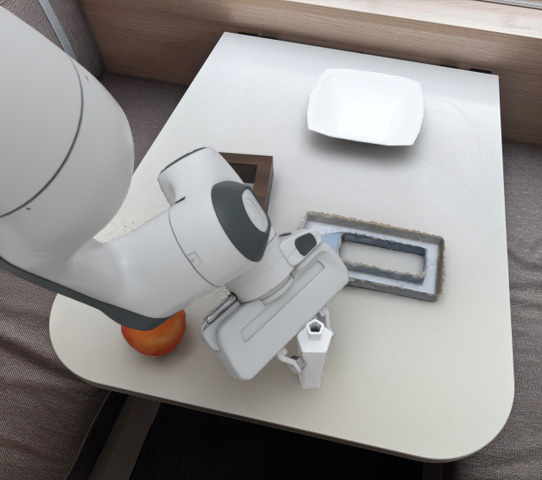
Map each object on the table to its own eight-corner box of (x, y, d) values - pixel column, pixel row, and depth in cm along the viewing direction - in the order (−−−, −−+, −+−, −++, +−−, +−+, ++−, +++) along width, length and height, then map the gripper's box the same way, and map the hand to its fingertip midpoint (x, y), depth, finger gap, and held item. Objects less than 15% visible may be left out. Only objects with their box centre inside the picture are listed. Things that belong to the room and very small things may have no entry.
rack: (257, 272, 85) (256, 254, 81) (181, 266, 85) (176, 248, 81) (273, 175, 99) (272, 155, 95) (208, 170, 99) (204, 150, 95)
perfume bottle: (300, 357, 76) (302, 305, 65) (329, 367, 76) (336, 316, 64) (290, 386, 74) (290, 337, 62) (319, 396, 73) (325, 348, 61)
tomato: (175, 371, 74) (164, 346, 68) (116, 354, 76) (100, 328, 69) (201, 317, 80) (193, 289, 74) (146, 301, 81) (134, 273, 75)
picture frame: (304, 219, 93) (305, 208, 91) (444, 242, 91) (448, 232, 89) (288, 280, 85) (288, 270, 82) (441, 307, 83) (445, 297, 80)
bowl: (415, 171, 101) (420, 150, 97) (298, 153, 103) (298, 131, 99) (421, 101, 115) (427, 79, 110) (318, 86, 117) (319, 63, 112)
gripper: (203, 328, 56) (271, 419, 60) (325, 221, 66) (377, 305, 70) (183, 323, 61) (247, 407, 65) (299, 225, 71) (348, 303, 75)
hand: (315, 353), depth 68 cm, fingers closed on perfume bottle, 4 cm apart
